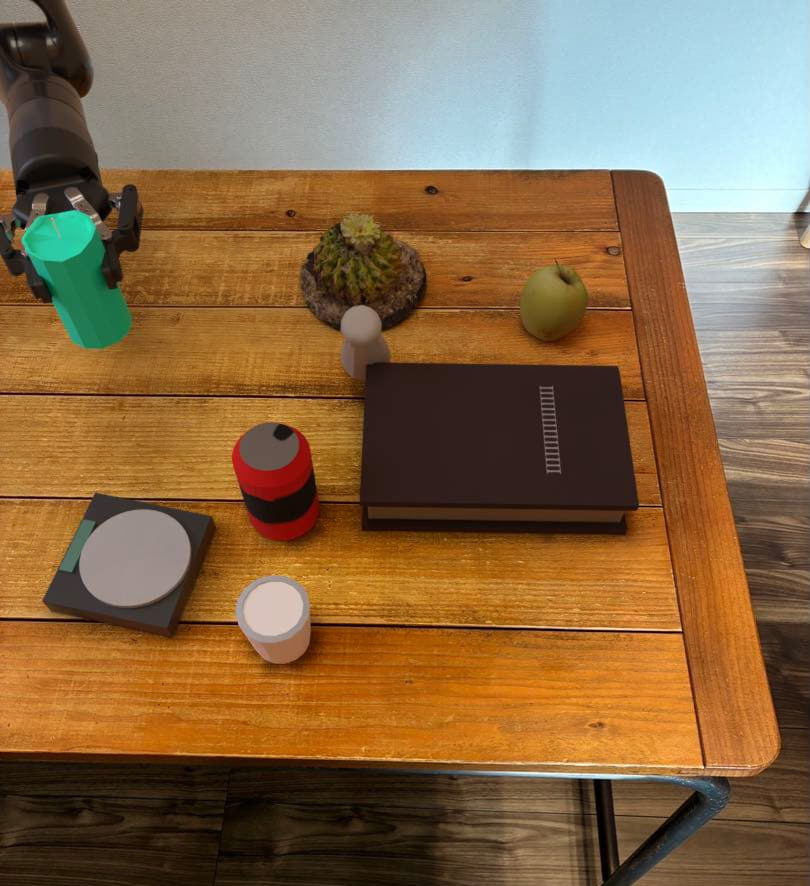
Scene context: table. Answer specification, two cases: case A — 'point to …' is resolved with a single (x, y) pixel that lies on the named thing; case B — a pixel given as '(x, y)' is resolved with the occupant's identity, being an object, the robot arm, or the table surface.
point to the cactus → (362, 272)
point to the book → (495, 449)
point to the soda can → (277, 480)
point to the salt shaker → (362, 341)
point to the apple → (553, 302)
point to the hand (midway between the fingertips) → (77, 288)
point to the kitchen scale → (131, 564)
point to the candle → (77, 278)
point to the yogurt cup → (275, 618)
